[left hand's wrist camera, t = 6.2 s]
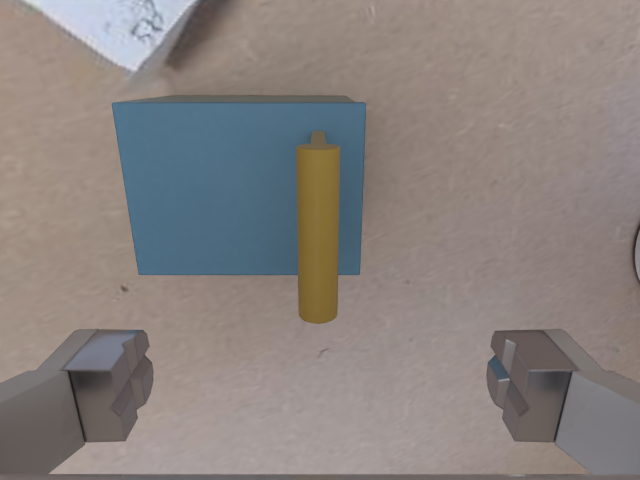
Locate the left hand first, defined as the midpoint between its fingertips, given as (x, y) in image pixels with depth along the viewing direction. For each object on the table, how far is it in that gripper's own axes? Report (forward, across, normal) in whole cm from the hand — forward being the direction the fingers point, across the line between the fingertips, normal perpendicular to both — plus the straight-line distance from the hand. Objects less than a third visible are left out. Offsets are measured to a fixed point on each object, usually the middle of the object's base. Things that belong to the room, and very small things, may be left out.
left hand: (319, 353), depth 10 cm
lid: (+16, -4, 0) cm, 16 cm away
